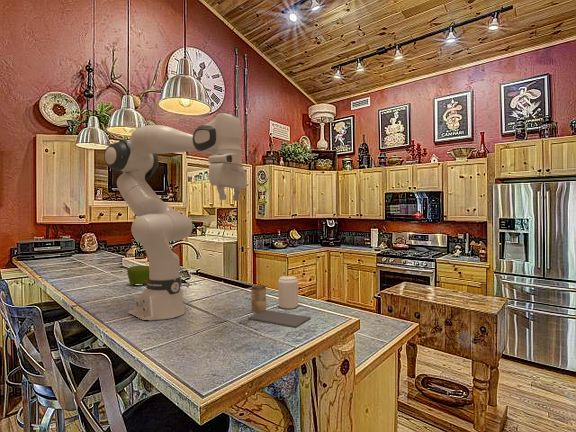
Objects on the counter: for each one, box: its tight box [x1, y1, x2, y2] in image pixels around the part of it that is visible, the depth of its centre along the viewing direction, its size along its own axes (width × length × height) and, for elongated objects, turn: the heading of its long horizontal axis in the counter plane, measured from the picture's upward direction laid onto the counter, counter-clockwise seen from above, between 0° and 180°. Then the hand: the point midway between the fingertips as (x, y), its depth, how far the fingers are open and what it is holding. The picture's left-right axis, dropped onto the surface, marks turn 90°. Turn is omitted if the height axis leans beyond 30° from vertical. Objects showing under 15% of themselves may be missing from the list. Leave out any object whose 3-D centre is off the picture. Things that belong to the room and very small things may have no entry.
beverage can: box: [277, 275, 299, 310], centre depth 139 cm, size 8×8×12 cm
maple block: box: [250, 284, 267, 314], centre depth 132 cm, size 4×4×10 cm
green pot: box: [126, 265, 149, 285], centre depth 188 cm, size 12×12×11 cm
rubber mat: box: [247, 309, 311, 329], centre depth 123 cm, size 20×11×1 cm, turn 59°
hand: (229, 200), depth 117 cm, fingers open, 8 cm apart
